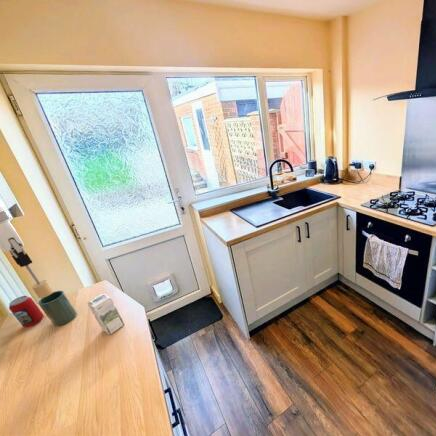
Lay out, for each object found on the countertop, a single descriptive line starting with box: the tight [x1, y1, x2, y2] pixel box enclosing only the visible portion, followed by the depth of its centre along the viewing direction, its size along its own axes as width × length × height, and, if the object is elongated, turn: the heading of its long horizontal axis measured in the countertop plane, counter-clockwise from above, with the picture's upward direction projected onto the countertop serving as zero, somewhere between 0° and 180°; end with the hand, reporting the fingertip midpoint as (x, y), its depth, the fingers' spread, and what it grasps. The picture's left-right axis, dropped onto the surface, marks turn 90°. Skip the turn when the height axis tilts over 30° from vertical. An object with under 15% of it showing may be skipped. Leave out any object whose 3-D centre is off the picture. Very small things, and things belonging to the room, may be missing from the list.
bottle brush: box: [14, 251, 54, 299], centre depth 91 cm, size 4×4×20 cm
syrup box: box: [87, 293, 125, 336], centre depth 94 cm, size 6×6×14 cm
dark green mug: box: [37, 290, 78, 327], centre depth 101 cm, size 8×8×12 cm
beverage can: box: [8, 295, 45, 328], centre depth 102 cm, size 7×7×12 cm
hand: (25, 263), depth 89 cm, fingers closed on bottle brush, 2 cm apart
